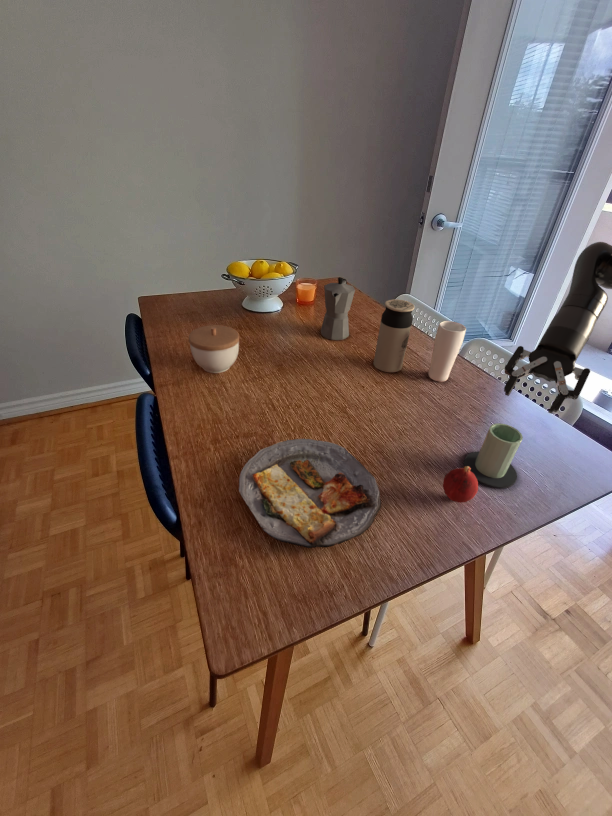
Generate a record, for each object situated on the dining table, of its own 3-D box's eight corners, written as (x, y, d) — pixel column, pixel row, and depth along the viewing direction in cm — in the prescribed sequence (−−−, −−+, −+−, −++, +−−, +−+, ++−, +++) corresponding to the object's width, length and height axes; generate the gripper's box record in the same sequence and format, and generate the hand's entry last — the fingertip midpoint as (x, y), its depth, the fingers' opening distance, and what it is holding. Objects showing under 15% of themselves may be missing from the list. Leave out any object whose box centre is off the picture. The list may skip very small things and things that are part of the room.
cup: (495, 456, 82) (510, 422, 77) (511, 477, 77) (529, 442, 72) (469, 458, 81) (483, 424, 76) (484, 479, 76) (500, 444, 71)
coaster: (498, 451, 84) (499, 449, 84) (526, 486, 76) (527, 484, 76) (454, 454, 83) (455, 453, 82) (479, 490, 75) (480, 489, 74)
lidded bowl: (245, 375, 103) (243, 336, 97) (195, 381, 99) (190, 341, 93) (235, 352, 113) (233, 316, 106) (189, 358, 109) (184, 320, 102)
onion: (470, 516, 70) (485, 484, 65) (437, 506, 71) (448, 474, 66) (471, 492, 74) (485, 461, 69) (439, 483, 76) (451, 452, 71)
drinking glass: (453, 384, 105) (470, 332, 97) (428, 383, 105) (443, 331, 96) (446, 371, 111) (462, 321, 102) (422, 370, 111) (435, 319, 102)
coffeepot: (345, 345, 120) (352, 286, 110) (315, 340, 122) (319, 282, 112) (353, 325, 133) (361, 271, 122) (326, 321, 134) (331, 267, 124)
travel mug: (367, 364, 112) (377, 302, 101) (385, 356, 116) (397, 296, 106) (389, 376, 107) (402, 313, 97) (407, 367, 112) (422, 306, 101)
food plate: (404, 515, 69) (409, 502, 67) (289, 580, 58) (290, 566, 56) (322, 434, 85) (324, 421, 83) (221, 473, 75) (219, 459, 72)
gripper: (531, 315, 81) (492, 383, 81) (610, 338, 74) (568, 413, 74) (529, 331, 88) (493, 394, 87) (602, 354, 81) (563, 423, 80)
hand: (528, 403), depth 80 cm, fingers open, 8 cm apart
